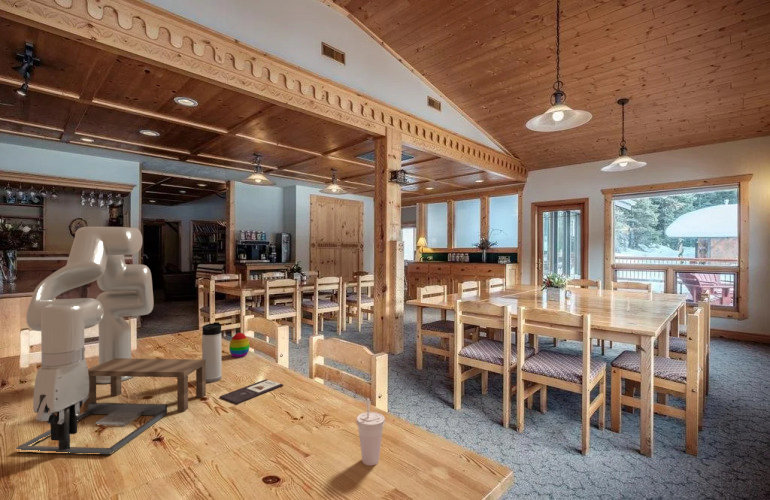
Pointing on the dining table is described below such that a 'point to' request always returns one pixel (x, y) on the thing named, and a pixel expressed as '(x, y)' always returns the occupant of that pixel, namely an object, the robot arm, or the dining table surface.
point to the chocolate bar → (251, 391)
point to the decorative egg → (239, 345)
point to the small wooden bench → (150, 375)
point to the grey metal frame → (101, 408)
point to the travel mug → (212, 351)
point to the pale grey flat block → (119, 418)
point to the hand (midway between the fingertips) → (64, 436)
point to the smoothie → (370, 435)
